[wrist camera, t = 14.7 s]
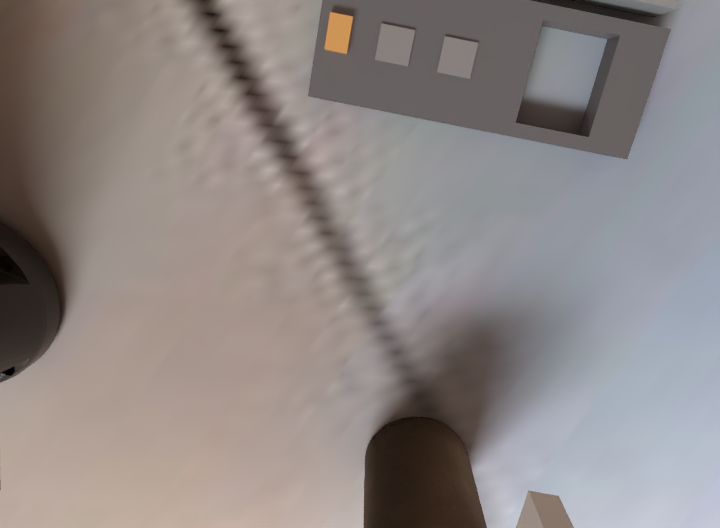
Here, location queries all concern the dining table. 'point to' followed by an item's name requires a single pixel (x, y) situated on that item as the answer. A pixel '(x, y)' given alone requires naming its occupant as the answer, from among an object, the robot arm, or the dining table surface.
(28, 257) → the robot arm
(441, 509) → the pillar candle
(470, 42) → the power strip
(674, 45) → the dining table surface
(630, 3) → the tray
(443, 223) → the dining table surface
